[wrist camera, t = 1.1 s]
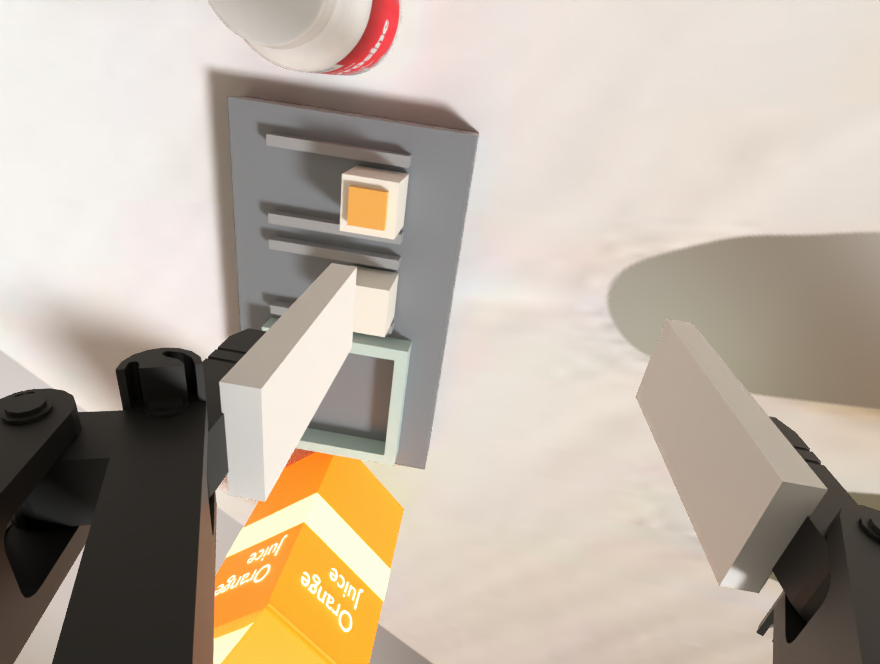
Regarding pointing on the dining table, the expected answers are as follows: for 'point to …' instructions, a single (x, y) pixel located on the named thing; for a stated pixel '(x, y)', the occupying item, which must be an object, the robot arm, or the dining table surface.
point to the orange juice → (308, 568)
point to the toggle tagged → (373, 201)
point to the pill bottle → (316, 32)
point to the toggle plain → (374, 301)
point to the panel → (353, 258)
